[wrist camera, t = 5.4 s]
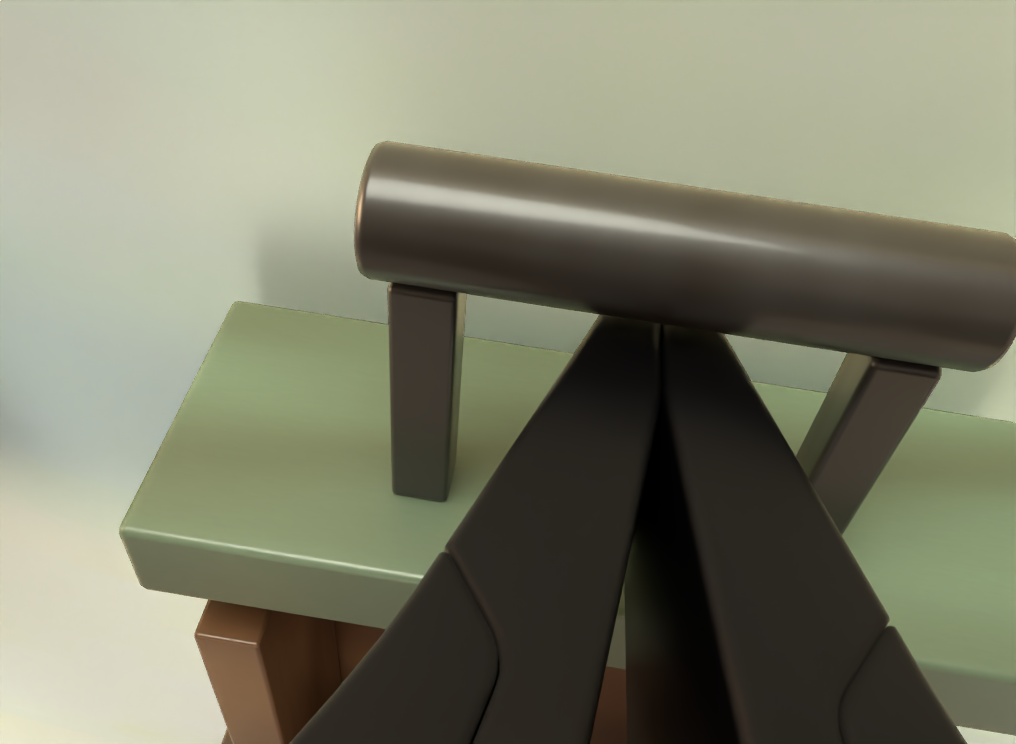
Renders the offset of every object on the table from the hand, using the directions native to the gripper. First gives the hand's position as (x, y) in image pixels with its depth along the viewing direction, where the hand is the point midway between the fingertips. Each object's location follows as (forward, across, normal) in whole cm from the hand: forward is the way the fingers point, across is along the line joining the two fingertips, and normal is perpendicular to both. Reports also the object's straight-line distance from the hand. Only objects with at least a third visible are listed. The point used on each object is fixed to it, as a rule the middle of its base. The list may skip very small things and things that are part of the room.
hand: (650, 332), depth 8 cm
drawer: (+2, 0, +6) cm, 6 cm away
